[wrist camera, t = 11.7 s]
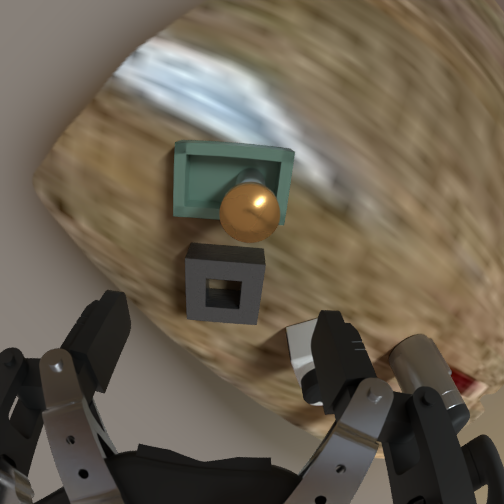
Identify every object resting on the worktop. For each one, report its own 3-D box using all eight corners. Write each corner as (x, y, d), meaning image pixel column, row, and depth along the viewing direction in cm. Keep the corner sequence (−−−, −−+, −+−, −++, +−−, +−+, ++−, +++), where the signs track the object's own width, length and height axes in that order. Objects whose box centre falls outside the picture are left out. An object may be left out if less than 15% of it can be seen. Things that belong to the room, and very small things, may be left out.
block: (263, 248, 35) (265, 264, 31) (255, 305, 39) (256, 324, 35) (191, 242, 34) (184, 258, 30) (191, 300, 38) (187, 319, 35)
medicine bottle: (284, 326, 41) (294, 391, 30) (330, 313, 40) (352, 375, 29) (294, 354, 44) (304, 415, 33) (335, 343, 43) (354, 401, 32)
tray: (290, 148, 29) (294, 152, 26) (280, 215, 33) (284, 225, 30) (181, 139, 28) (175, 142, 25) (179, 207, 32) (173, 216, 29)
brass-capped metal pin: (272, 163, 29) (284, 189, 19) (268, 201, 31) (275, 245, 21) (232, 159, 29) (221, 182, 19) (229, 198, 31) (217, 239, 21)
